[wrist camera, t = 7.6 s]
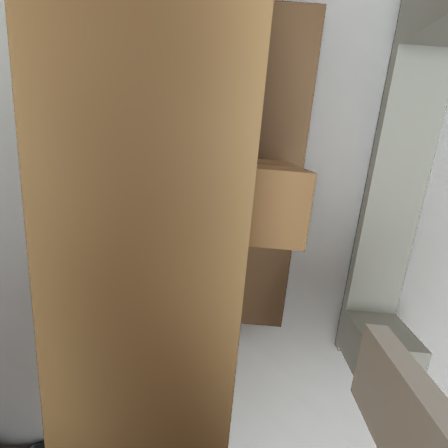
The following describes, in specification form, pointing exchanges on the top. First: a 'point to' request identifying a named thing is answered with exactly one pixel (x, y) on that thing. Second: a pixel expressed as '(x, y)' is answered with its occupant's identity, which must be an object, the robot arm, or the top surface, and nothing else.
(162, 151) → the bar
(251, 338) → the top surface
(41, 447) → the gun
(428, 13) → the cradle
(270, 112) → the fulcrum
